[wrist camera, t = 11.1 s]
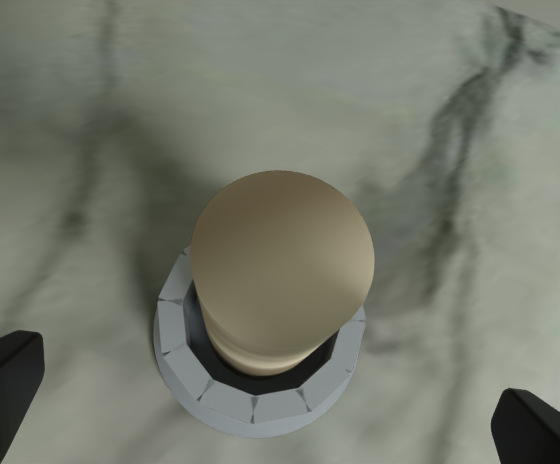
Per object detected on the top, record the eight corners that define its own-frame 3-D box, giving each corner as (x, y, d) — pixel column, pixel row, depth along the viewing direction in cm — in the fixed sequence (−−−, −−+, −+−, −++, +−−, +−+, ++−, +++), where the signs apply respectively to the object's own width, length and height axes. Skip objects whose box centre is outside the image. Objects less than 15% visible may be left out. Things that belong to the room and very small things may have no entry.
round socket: (398, 341, 23) (426, 327, 20) (241, 489, 20) (244, 503, 16) (271, 200, 25) (277, 166, 22) (114, 312, 22) (93, 292, 19)
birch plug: (326, 359, 22) (404, 310, 12) (225, 395, 21) (220, 373, 11) (291, 264, 23) (334, 153, 14) (195, 293, 22) (169, 195, 13)
